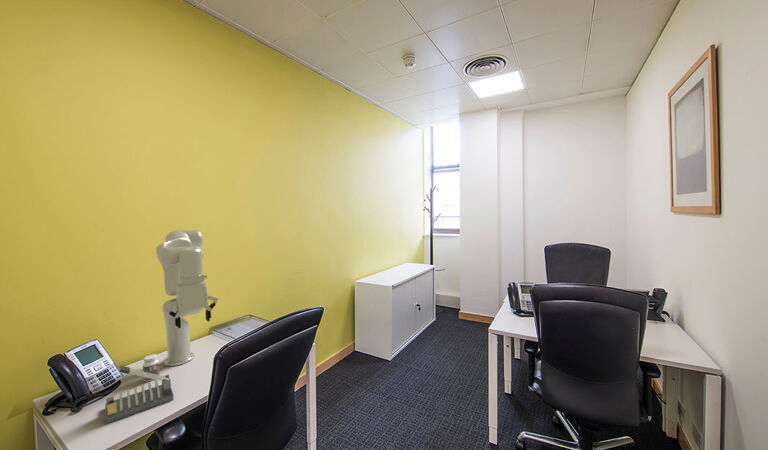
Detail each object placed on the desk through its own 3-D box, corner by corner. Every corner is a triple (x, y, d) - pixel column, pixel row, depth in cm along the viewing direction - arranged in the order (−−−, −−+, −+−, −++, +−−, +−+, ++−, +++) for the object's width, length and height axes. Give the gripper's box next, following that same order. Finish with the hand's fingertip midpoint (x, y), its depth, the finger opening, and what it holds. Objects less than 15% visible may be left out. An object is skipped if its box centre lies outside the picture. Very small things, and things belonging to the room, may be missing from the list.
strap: (166, 378, 125) (168, 376, 125) (167, 383, 122) (169, 380, 122) (119, 368, 114) (120, 365, 115) (119, 372, 111) (121, 369, 112)
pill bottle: (161, 376, 137) (160, 355, 136) (147, 383, 132) (145, 361, 131) (155, 373, 140) (154, 352, 139) (141, 379, 135) (139, 358, 134)
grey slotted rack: (105, 408, 115) (104, 390, 115) (169, 386, 129) (168, 371, 128) (105, 424, 106) (103, 405, 106) (173, 399, 120) (172, 382, 119)
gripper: (214, 275, 124) (216, 315, 125) (162, 282, 113) (165, 327, 114) (219, 278, 119) (221, 320, 120) (165, 286, 107) (168, 333, 108)
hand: (193, 323), depth 117 cm, fingers open, 9 cm apart
